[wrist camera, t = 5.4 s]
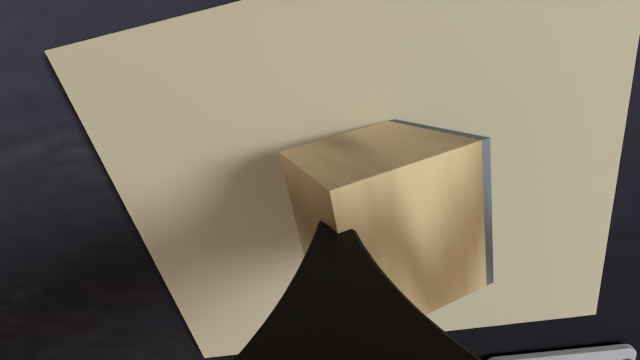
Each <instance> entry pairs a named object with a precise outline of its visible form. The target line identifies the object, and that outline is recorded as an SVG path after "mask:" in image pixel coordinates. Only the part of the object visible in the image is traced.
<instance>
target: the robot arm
mask: <svg viewBox="0 0 640 360" xmlns="http://www.w3.org/2000/svg"><path fill="white" fill-rule="evenodd" d="M636 354H637V353H636V351H635V349H634V348H633V347H632V346H631V345H629V344H617V345H607V346H597V347H587V348H577V349H567V350H557V351H547V352H537V353H527V354H517V355H507V356H497V357H490V358H489V359H487V360H635V358H636ZM234 360H481V359H480V358H478V357H477V356H476V355H474V354H473V353H472V352H470V351H469V350H468V349H466V348H465V347H464V346H462V345H461V344H460V343H458V342H457V341H456V340H454V339H453V338H452V337H451V336H450V335H448V334H447V333H446V332H445V331H444V330H442V329H441V328H440V327H439V326H438V325H436V324H435V323H434V322H433V321H432V320H430V319H429V318H428V317H427V316H426V315H425V314H423V313H422V312H421V311H420V310H419V309H418V308H417V307H416V306H415V305H414V304H413V303H412V302H411V301H410V300H409V299H408V298H407V297H406V296H405V295H404V294H403V293H402V292H401V291H400V290H399V289H398V288H397V287H396V286H395V285H394V283H393V282H392V281H391V280H390V279H389V278H388V277H387V275H386V274H385V273H384V272H383V270H382V269H381V268H380V267H379V266H378V264H377V263H376V262H375V260H374V259H373V258H372V256H371V255H370V253H369V252H368V250H367V249H366V247H365V246H364V244H363V243H362V241H361V239H360V238H359V236H358V234H357V232H356V231H355V230H353V229H349V230H347V231H344V232H341V233H339V234H338V233H337V232H335V231H334V230H333V229H332V228H331V227H329V226H328V225H327V224H325V223H324V222H322V221H320V222H319V223H318V225H317V228H316V231H315V233H314V236H313V238H312V241H311V243H310V245H309V247H308V250H307V252H306V254H305V256H304V258H303V260H302V262H301V264H300V266H299V268H298V270H297V272H296V273H295V275H294V277H293V279H292V280H291V282H290V284H289V286H288V287H287V289H286V291H285V292H284V294H283V296H282V297H281V299H280V300H279V302H278V303H277V305H276V306H275V308H274V309H273V311H272V312H271V313H270V315H269V316H268V318H267V319H266V320H265V322H264V323H263V324H262V326H261V327H260V328H259V330H258V331H257V332H256V333H255V335H254V336H253V337H252V338H251V340H250V341H249V342H248V343H247V345H246V346H245V347H244V348H243V349H242V351H241V352H240V353H239V354H238V355H237V356H236V357H235V358H234Z"/></svg>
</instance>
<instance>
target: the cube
mask: <svg viewBox="0 0 640 360" xmlns="http://www.w3.org/2000/svg"><path fill="white" fill-rule="evenodd" d="M279 155H280V160H281V164H282V168H283V172H284V176H285V180H286V184H287V188H288V192H289V196H290V200H291V205H292V209H293V213H294V217H295V221H296V225H297V229H298V233H299V237H300V241H301V245H302V250H303V254H304V256H305V254H306V252H307V250H308V247H309V245H310V243H311V241H312V238H313V236H314V233H315V231H316V228H317V225H318V223H319V222H320V221H322V222H324V223H325V224H327V225H328V226H329V227H331V228H332V229H333V230H334V231H335V232H337V233H338V234H339V233H341V232H344V231H347V230H349V229H353V230H355V231H356V232H357V234H358V236H359V238H360V239H361V241H362V243H363V244H364V246H365V247H366V249H367V250H368V252H369V253H370V255H371V256H372V258H373V259H374V260H375V262H376V263H377V264H378V266H379V267H380V268H381V269H382V270H383V272H384V273H385V274H386V275H387V277H388V278H389V279H390V280H391V281H392V282H393V283H394V285H395V286H396V287H397V288H398V289H399V290H400V291H401V292H402V293H403V294H404V295H405V296H406V297H407V298H408V299H409V300H410V301H411V302H412V303H413V304H414V305H415V306H416V307H417V308H418V309H419V310H420V311H421V312H422V313H423V314H425V315H427V314H429V313H431V312H433V311H435V310H437V309H439V308H441V307H443V306H445V305H448V304H450V303H452V302H454V301H456V300H458V299H460V298H462V297H464V296H466V295H468V294H470V293H473V292H475V291H477V290H479V289H481V288H483V287H485V286H487V285H489V284H491V283H493V282H494V276H493V235H492V193H491V151H490V137H485V136H480V135H475V134H469V133H464V132H459V131H454V130H449V129H443V128H438V127H433V126H428V125H423V124H417V123H412V122H407V121H402V120H397V119H393V120H389V121H385V122H382V123H378V124H375V125H371V126H368V127H364V128H361V129H357V130H354V131H350V132H347V133H343V134H340V135H336V136H333V137H329V138H326V139H322V140H318V141H315V142H311V143H308V144H304V145H301V146H297V147H294V148H290V149H287V150H283V151H280V152H279Z"/></svg>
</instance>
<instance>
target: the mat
mask: <svg viewBox="0 0 640 360" xmlns="http://www.w3.org/2000/svg"><path fill="white" fill-rule="evenodd" d="M639 35H640V0H241V1H238V2H234V3H230V4H226V5H222V6H218V7H214V8H210V9H206V10H202V11H198V12H195V13H191V14H187V15H183V16H179V17H175V18H171V19H167V20H163V21H159V22H156V23H152V24H148V25H144V26H140V27H136V28H132V29H128V30H124V31H120V32H117V33H113V34H109V35H105V36H101V37H97V38H93V39H89V40H85V41H81V42H78V43H74V44H70V45H66V46H62V47H58V48H54V49H50V50H46V51H45V53H46V55H47V57H48V59H49V61H50V63H51V65H52V66H53V68H54V70H55V72H56V74H57V76H58V78H59V80H60V82H61V84H62V86H63V88H64V89H65V91H66V93H67V95H68V97H69V99H70V101H71V103H72V105H73V107H74V109H75V111H76V112H77V114H78V116H79V118H80V120H81V122H82V124H83V126H84V128H85V130H86V132H87V134H88V136H89V137H90V139H91V141H92V143H93V145H94V147H95V149H96V151H97V153H98V155H99V157H100V159H101V160H102V162H103V164H104V166H105V168H106V170H107V172H108V174H109V176H110V178H111V180H112V182H113V183H114V185H115V187H116V189H117V191H118V193H119V195H120V197H121V199H122V201H123V203H124V205H125V206H126V208H127V210H128V212H129V214H130V216H131V218H132V220H133V222H134V224H135V226H136V228H137V229H138V231H139V233H140V235H141V237H142V239H143V241H144V243H145V245H146V247H147V249H148V251H149V252H150V254H151V256H152V258H153V260H154V262H155V264H156V266H157V268H158V270H159V272H160V274H161V275H162V277H163V279H164V281H165V283H166V285H167V287H168V289H169V291H170V293H171V295H172V297H173V299H174V300H175V302H176V304H177V306H178V308H179V310H180V312H181V314H182V316H183V318H184V320H185V322H186V323H187V325H188V327H189V329H190V331H191V333H192V335H193V337H194V339H195V341H196V343H197V345H198V346H199V348H200V350H201V352H202V354H203V356H204V358H208V357H217V356H226V355H235V354H239V353H240V352H241V351H242V349H243V348H244V347H245V346H246V345H247V343H248V342H249V341H250V340H251V338H252V337H253V336H254V335H255V333H256V332H257V331H258V330H259V328H260V327H261V326H262V324H263V323H264V322H265V320H266V319H267V318H268V316H269V315H270V313H271V312H272V311H273V309H274V308H275V306H276V305H277V303H278V302H279V300H280V299H281V297H282V296H283V294H284V292H285V291H286V289H287V287H288V286H289V284H290V282H291V280H292V279H293V277H294V275H295V273H296V272H297V270H298V268H299V266H300V264H301V262H302V260H303V258H304V254H303V250H302V245H301V241H300V237H299V233H298V229H297V225H296V221H295V217H294V213H293V209H292V205H291V200H290V196H289V192H288V188H287V184H286V180H285V176H284V172H283V168H282V164H281V160H280V155H279V152H280V151H283V150H287V149H290V148H294V147H297V146H301V145H304V144H308V143H311V142H315V141H318V140H322V139H326V138H329V137H333V136H336V135H340V134H343V133H347V132H350V131H354V130H357V129H361V128H364V127H368V126H371V125H375V124H378V123H382V122H385V121H389V120H393V119H397V120H402V121H407V122H412V123H417V124H423V125H428V126H433V127H438V128H443V129H449V130H454V131H459V132H464V133H469V134H475V135H480V136H485V137H490V151H491V193H492V235H493V276H494V282H493V283H491V284H489V285H487V286H485V287H483V288H481V289H479V290H477V291H475V292H473V293H470V294H468V295H466V296H464V297H462V298H460V299H458V300H456V301H454V302H452V303H450V304H448V305H445V306H443V307H441V308H439V309H437V310H435V311H433V312H431V313H429V314H427V315H426V316H427V317H428V318H429V319H430V320H432V321H433V322H434V323H435V324H436V325H438V326H439V327H440V328H441V329H442V330H444V331H451V330H460V329H469V328H478V327H487V326H496V325H505V324H514V323H523V322H532V321H541V320H550V319H559V318H568V317H577V316H586V315H595V314H596V309H597V303H598V296H599V290H600V284H601V277H602V271H603V264H604V258H605V252H606V245H607V239H608V233H609V226H610V220H611V213H612V207H613V201H614V194H615V188H616V182H617V175H618V169H619V162H620V156H621V150H622V143H623V137H624V131H625V124H626V118H627V111H628V105H629V99H630V92H631V86H632V80H633V73H634V67H635V60H636V54H637V48H638V41H639Z"/></svg>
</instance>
